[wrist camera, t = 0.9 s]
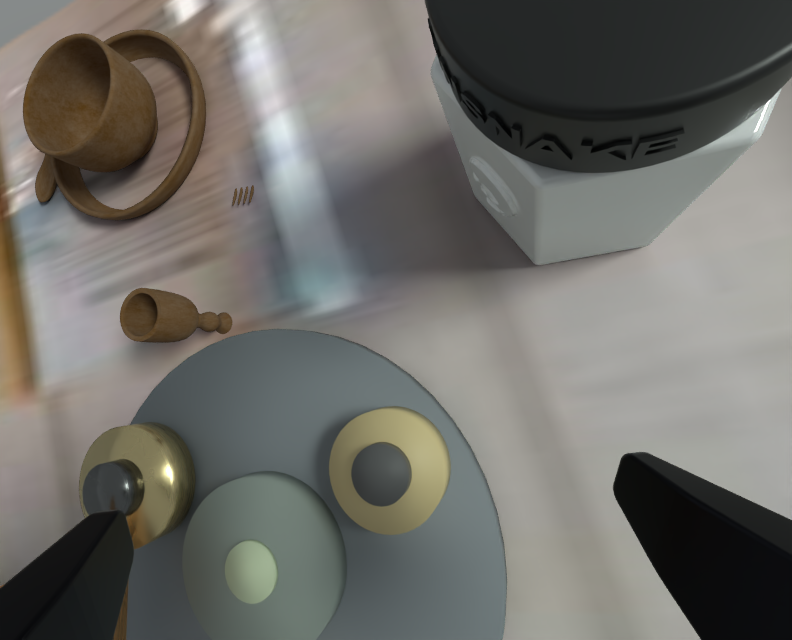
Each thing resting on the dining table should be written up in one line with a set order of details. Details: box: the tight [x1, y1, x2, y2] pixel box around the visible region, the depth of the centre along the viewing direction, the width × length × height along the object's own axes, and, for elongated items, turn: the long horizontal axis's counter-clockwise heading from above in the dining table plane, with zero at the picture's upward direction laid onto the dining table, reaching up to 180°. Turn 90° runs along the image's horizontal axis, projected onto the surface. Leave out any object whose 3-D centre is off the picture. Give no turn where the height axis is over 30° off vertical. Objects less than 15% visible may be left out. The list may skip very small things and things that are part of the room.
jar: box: [425, 0, 792, 265], centre depth 13 cm, size 9×8×12 cm
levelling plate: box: [126, 329, 507, 640], centre depth 20 cm, size 22×22×3 cm
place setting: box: [23, 30, 254, 342], centre depth 25 cm, size 18×20×6 cm
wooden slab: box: [0, 422, 196, 640], centre depth 17 cm, size 11×6×12 cm, turn 1°
